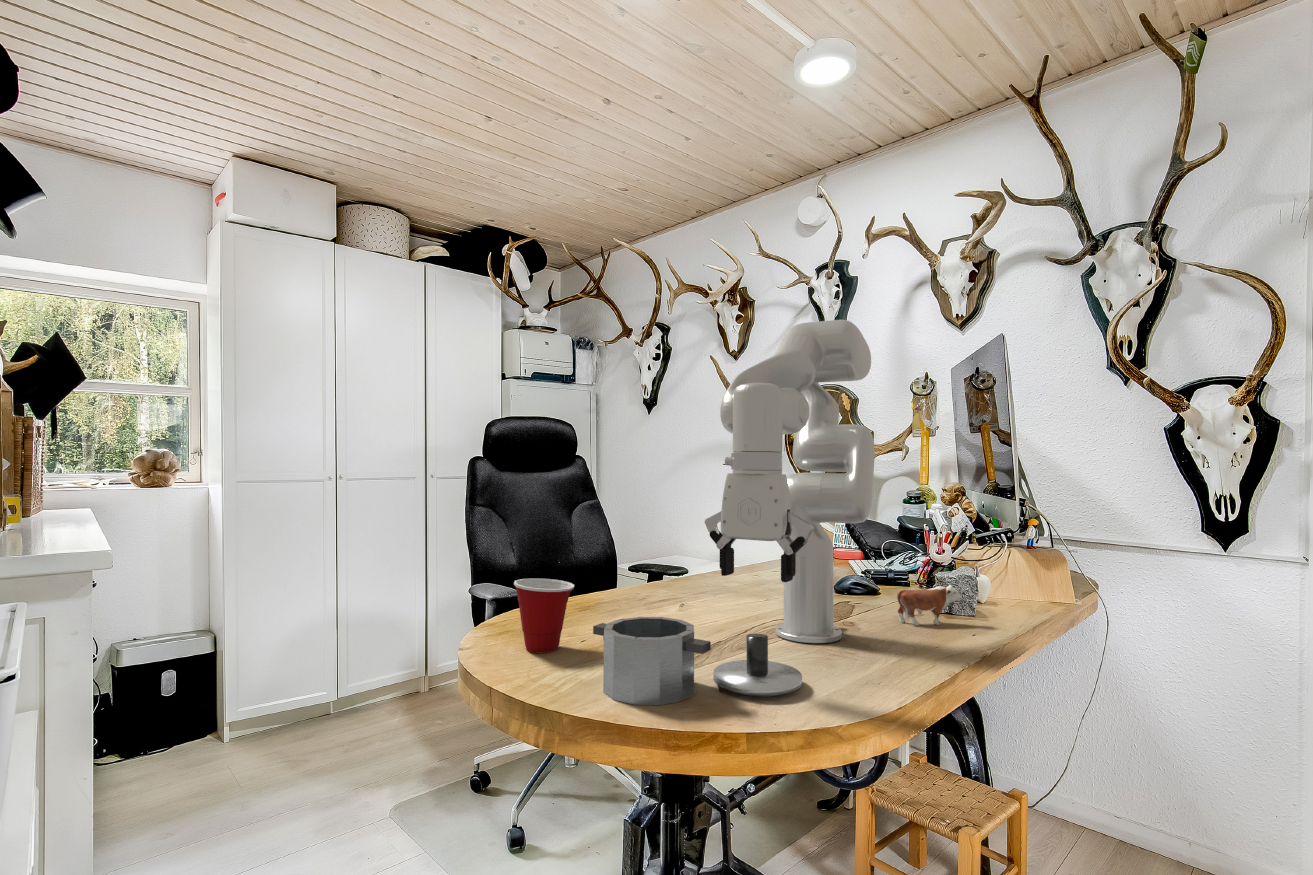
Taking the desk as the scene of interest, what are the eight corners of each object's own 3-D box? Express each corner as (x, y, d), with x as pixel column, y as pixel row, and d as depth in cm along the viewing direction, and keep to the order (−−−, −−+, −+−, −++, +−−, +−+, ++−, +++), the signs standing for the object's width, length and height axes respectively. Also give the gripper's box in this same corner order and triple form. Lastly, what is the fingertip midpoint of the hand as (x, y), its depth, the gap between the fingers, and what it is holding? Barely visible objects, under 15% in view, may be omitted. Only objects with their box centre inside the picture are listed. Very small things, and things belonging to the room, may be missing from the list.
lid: (735, 667, 107) (735, 621, 108) (814, 681, 100) (813, 632, 101) (698, 691, 96) (698, 639, 96) (783, 709, 89) (782, 653, 90)
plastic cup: (578, 654, 113) (579, 585, 114) (515, 659, 110) (516, 588, 111) (569, 638, 124) (569, 575, 124) (510, 642, 121) (511, 577, 121)
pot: (621, 665, 107) (622, 610, 108) (727, 687, 97) (727, 626, 98) (570, 689, 96) (570, 627, 97) (683, 716, 86) (683, 648, 86)
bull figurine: (964, 626, 135) (964, 586, 135) (900, 626, 135) (900, 586, 135) (954, 621, 139) (954, 582, 140) (892, 621, 139) (892, 582, 139)
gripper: (695, 463, 101) (694, 575, 100) (803, 464, 92) (803, 587, 91) (717, 464, 107) (716, 569, 106) (820, 465, 98) (820, 580, 97)
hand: (756, 577), depth 99 cm, fingers open, 9 cm apart
